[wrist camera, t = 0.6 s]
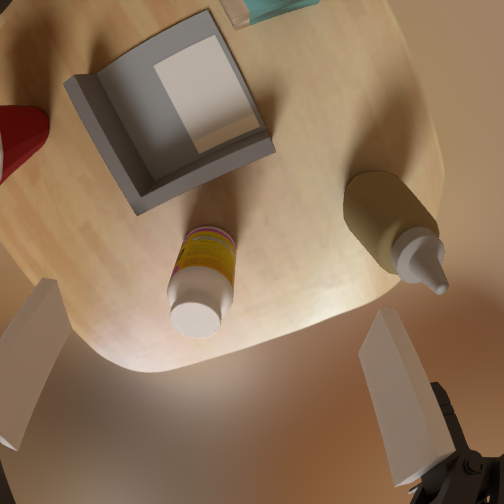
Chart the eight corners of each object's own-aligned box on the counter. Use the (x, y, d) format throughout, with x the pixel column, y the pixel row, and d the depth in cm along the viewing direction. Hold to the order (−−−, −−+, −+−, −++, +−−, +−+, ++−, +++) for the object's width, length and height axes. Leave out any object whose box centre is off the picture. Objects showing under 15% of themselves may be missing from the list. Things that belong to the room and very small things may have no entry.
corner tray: (87, 80, 27) (62, 83, 23) (207, 10, 24) (200, -2, 20) (151, 196, 35) (136, 216, 30) (271, 140, 32) (276, 152, 27)
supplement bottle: (184, 220, 37) (157, 287, 26) (239, 227, 37) (236, 297, 26) (181, 267, 40) (160, 340, 29) (232, 274, 40) (227, 349, 29)
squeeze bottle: (358, 237, 38) (416, 343, 22) (320, 191, 35) (374, 289, 19) (407, 198, 35) (492, 285, 20) (374, 148, 32) (467, 215, 17)
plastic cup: (18, 75, 25) (-49, 88, 15) (77, 103, 28) (12, 122, 18) (-3, 149, 30) (-63, 181, 20) (50, 181, 33) (-7, 224, 23)
